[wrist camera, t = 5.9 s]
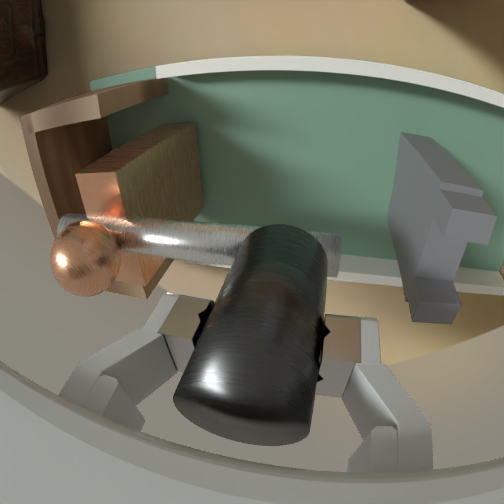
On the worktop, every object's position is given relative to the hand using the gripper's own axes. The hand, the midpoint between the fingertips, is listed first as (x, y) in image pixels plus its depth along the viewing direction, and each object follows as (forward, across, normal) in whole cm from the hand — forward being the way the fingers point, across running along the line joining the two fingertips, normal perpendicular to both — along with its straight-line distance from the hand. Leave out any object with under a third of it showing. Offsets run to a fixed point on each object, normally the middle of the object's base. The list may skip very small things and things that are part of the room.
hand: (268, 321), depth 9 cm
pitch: (+13, -1, 0) cm, 13 cm away
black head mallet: (+12, +4, 0) cm, 13 cm away
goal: (+13, +12, 0) cm, 17 cm away
